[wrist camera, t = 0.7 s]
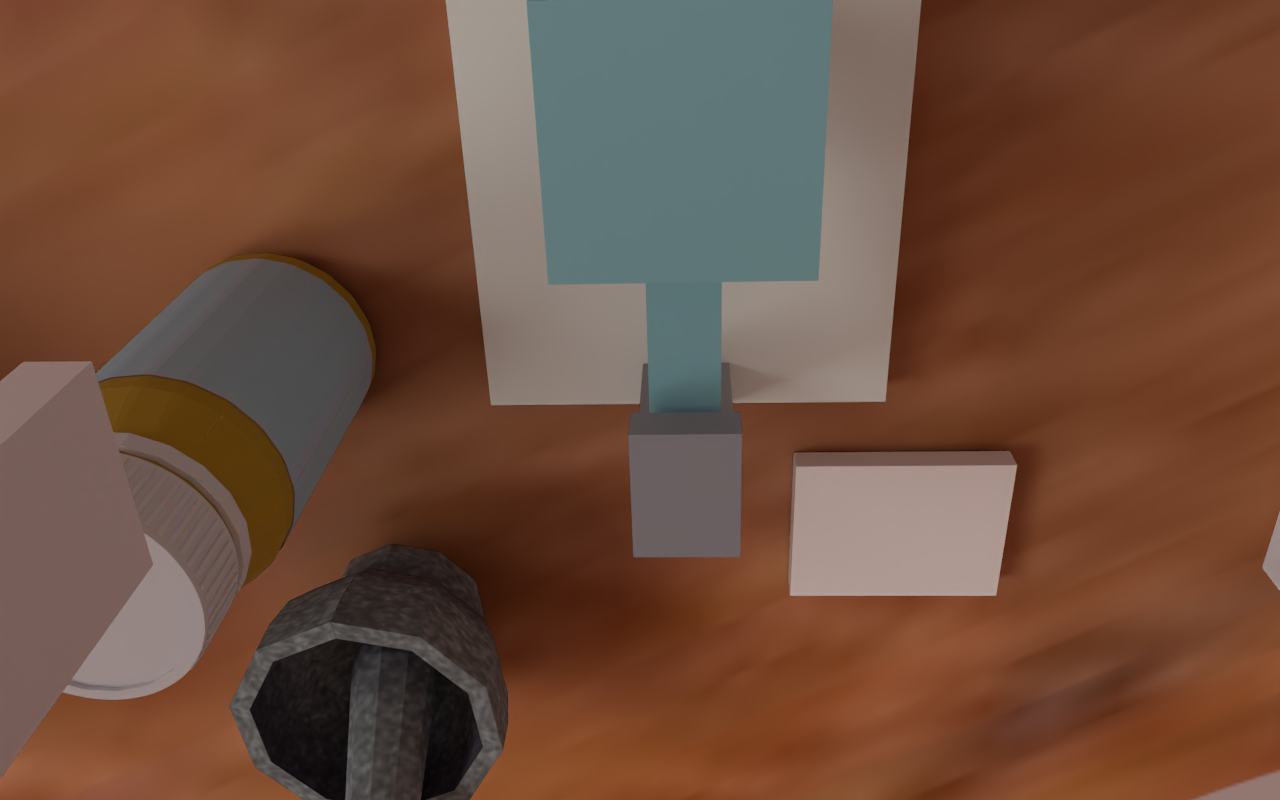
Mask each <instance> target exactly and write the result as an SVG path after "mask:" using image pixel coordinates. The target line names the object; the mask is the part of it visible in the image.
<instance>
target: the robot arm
mask: <svg viewBox="0 0 1280 800" xmlns="http://www.w3.org/2000/svg"><path fill="white" fill-rule="evenodd" d="M152 566H153V562H152V559H151V555H150V552H149V549H148V546H147V542H146V539H145V536H144V532H143V529H142V526H141V522H140V519H139V516H138V512H137V509H136V506H135V502H134V499H133V496H132V493H131V489H130V486H129V483H128V479H127V476H126V473H125V469H124V466H123V463H122V459H121V456H120V453H119V450H118V446H117V443H116V440H115V436H114V433H113V430H112V426H111V423H110V420H109V416H108V413H107V410H106V406H105V403H104V400H103V397H102V393H101V390H100V387H99V383H98V380H97V377H96V373H95V370H94V367H93V363H92V361H68V362H23V363H21V364H20V365H19V366H18V367H17V368H15V369H14V370H13V371H12V372H11V373H9V374H8V375H7V376H6V377H4V378H3V379H2V380H1V381H0V779H1V778H2V776H3V775H4V773H5V772H6V771H7V769H8V768H9V766H10V765H11V764H12V762H13V761H14V759H15V758H16V757H17V755H18V754H19V752H20V751H21V750H22V748H23V747H24V745H25V744H26V743H27V741H28V740H29V738H30V737H31V736H32V734H33V733H34V731H35V730H36V729H37V727H38V726H39V724H40V723H41V722H42V720H43V719H44V717H45V716H46V715H47V713H48V712H49V710H50V709H51V708H52V706H53V705H54V703H55V702H56V701H57V699H58V698H59V696H60V695H61V693H62V692H63V691H64V689H65V688H66V686H67V685H68V684H69V682H70V681H71V679H72V678H73V677H74V675H75V674H76V672H77V671H78V670H79V668H80V667H81V665H82V664H83V663H84V661H85V660H86V658H87V657H88V656H89V654H90V653H91V651H92V650H93V649H94V647H95V646H96V644H97V643H98V642H99V640H100V639H101V637H102V636H103V635H104V633H105V632H106V630H107V629H108V628H109V626H110V625H111V623H112V622H113V621H114V619H115V618H116V616H117V615H118V614H119V612H120V611H121V609H122V608H123V607H124V605H125V604H126V602H127V601H128V600H129V598H130V597H131V595H132V594H133V593H134V591H135V590H136V588H137V587H138V586H139V584H140V583H141V581H142V580H143V579H144V577H145V576H146V574H147V573H148V571H149V570H150V569H151V567H152ZM1262 568H1263V570H1264V571H1265V572H1266V573H1267V575H1268V576H1269V577H1270V579H1271V580H1272V581H1273V583H1274V584H1275V585H1276V586H1277V588H1278V589H1279V590H1280V512H1279V516H1278V519H1277V522H1276V525H1275V528H1274V532H1273V535H1272V538H1271V541H1270V544H1269V547H1268V551H1267V554H1266V557H1265V560H1264V563H1263V567H1262Z"/></svg>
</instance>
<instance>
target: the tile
mask: <svg viewBox="0 0 1280 800" xmlns="http://www.w3.org/2000/svg"><path fill="white" fill-rule="evenodd" d="M1016 470H1017V464H1016V462H1015V460H1014V458H1013V456H1012V454H1011V452H1010V451H935V452H794V457H793V480H792V503H791V525H790V548H789V571H788V583H789V590H790V596H996V593H997V587H998V581H999V575H1000V568H1001V562H1002V556H1003V550H1004V544H1005V538H1006V531H1007V525H1008V519H1009V513H1010V507H1011V501H1012V494H1013V488H1014V482H1015V476H1016Z"/></svg>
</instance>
